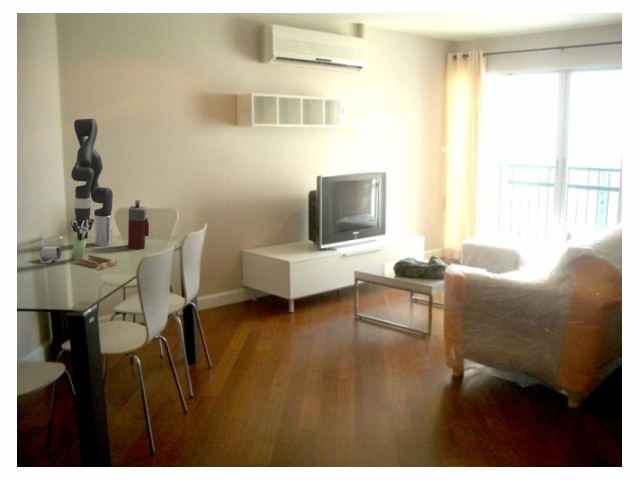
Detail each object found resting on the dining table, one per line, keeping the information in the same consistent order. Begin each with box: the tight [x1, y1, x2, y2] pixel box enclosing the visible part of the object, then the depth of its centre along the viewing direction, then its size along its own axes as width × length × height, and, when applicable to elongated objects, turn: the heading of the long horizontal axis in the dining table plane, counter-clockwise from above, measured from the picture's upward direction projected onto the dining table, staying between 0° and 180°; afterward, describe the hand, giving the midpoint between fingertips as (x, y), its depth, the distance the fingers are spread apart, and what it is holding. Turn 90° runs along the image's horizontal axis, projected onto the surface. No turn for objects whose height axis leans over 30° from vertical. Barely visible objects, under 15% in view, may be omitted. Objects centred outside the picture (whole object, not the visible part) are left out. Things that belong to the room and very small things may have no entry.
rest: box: [75, 254, 118, 270], centre depth 310 cm, size 10×18×2 cm, turn 65°
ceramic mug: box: [39, 245, 62, 265], centre depth 307 cm, size 11×8×8 cm
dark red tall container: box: [127, 199, 150, 250], centre depth 348 cm, size 9×11×28 cm
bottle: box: [70, 226, 87, 261], centre depth 313 cm, size 6×6×18 cm
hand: (82, 239), depth 312 cm, fingers closed on bottle, 3 cm apart
